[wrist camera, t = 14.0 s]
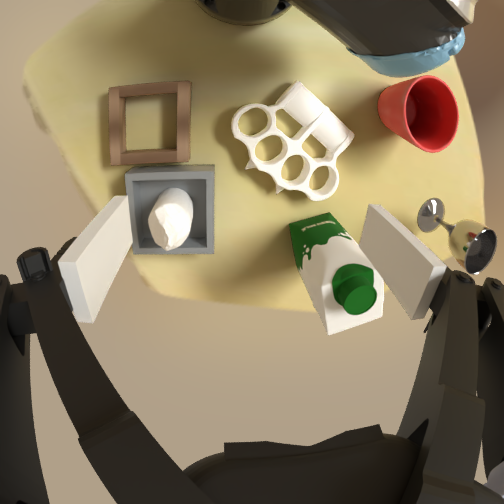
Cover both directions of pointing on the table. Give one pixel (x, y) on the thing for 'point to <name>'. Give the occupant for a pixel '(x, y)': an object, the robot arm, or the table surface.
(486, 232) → the wine glass
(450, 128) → the flower pot
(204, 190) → the tray
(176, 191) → the white tall rounded piece
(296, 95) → the white brass knuckles
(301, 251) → the milk carton
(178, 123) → the holder
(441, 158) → the table surface
